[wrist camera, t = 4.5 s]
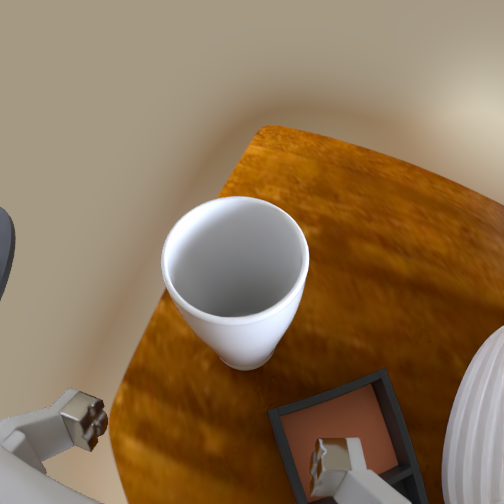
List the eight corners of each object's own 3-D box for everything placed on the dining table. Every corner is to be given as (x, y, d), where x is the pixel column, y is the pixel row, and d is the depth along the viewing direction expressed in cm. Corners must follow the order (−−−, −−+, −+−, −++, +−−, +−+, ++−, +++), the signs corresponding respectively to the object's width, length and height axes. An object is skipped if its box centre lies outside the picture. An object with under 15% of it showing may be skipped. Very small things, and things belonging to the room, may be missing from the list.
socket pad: (324, 579, 13) (331, 593, 10) (266, 411, 23) (267, 410, 20) (422, 535, 14) (437, 542, 11) (372, 373, 24) (385, 367, 21)
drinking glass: (191, 345, 26) (129, 258, 13) (241, 293, 28) (229, 174, 16) (249, 395, 23) (240, 360, 11) (299, 337, 26) (340, 242, 13)
